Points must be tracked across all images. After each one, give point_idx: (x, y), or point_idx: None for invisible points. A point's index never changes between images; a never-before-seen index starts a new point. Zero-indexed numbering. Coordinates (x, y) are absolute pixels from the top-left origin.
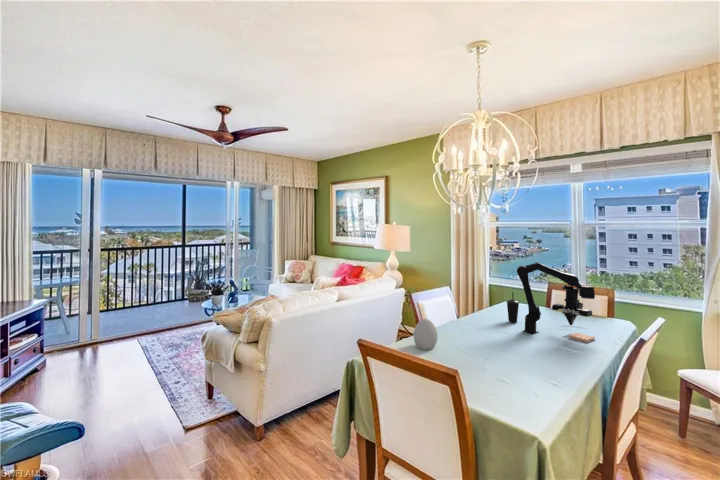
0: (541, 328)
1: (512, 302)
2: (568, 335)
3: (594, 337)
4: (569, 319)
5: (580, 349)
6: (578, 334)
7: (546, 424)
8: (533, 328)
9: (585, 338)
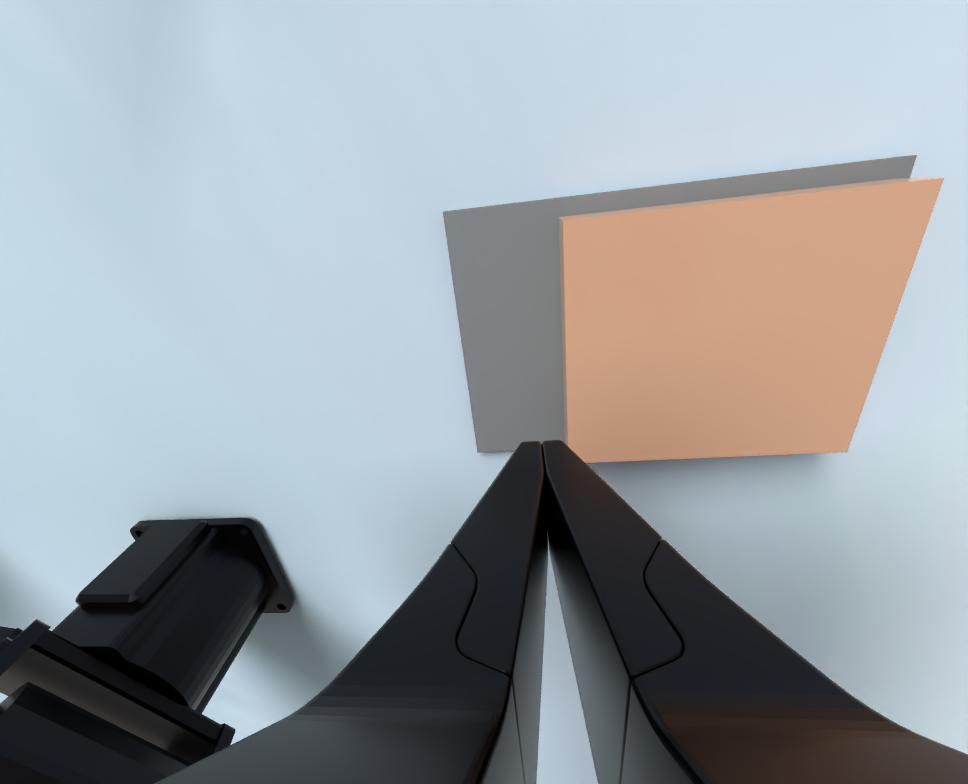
0: (77, 336)
1: None
2: (487, 335)
3: (934, 183)
4: (541, 656)
5: (797, 620)
6: (640, 305)
7: None
8: (237, 638)
9: (806, 411)
